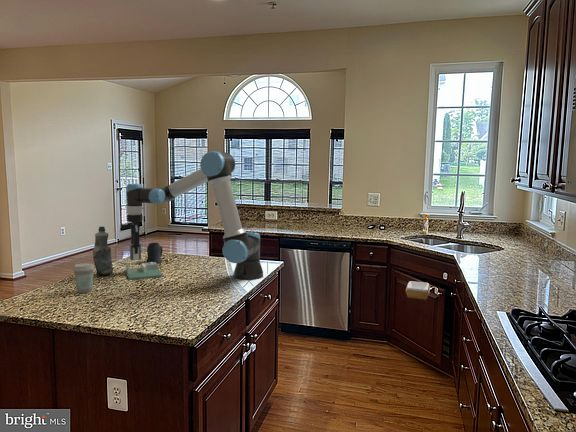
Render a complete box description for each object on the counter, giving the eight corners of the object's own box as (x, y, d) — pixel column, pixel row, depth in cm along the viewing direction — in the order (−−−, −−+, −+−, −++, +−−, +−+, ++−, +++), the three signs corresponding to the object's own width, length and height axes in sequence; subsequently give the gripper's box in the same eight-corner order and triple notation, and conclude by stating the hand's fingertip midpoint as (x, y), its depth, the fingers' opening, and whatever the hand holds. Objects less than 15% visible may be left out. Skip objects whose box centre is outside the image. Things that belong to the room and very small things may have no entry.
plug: (141, 259, 219) (140, 244, 218) (130, 260, 216) (130, 245, 215) (139, 258, 222) (139, 243, 221) (129, 258, 220) (129, 243, 219)
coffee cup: (72, 294, 181) (70, 267, 180) (76, 289, 189) (75, 263, 188) (93, 293, 183) (92, 266, 182) (97, 288, 192) (96, 262, 190)
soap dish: (407, 291, 195) (408, 280, 195) (429, 293, 192) (430, 282, 191) (405, 298, 184) (405, 287, 183) (428, 301, 180) (429, 289, 180)
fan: (157, 268, 226) (157, 263, 225) (145, 269, 223) (145, 264, 223) (155, 266, 231) (155, 261, 231) (144, 267, 228) (143, 261, 228)
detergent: (106, 271, 222) (105, 224, 220) (118, 272, 220) (117, 225, 218) (88, 277, 210) (86, 227, 207) (101, 278, 208) (99, 228, 205)
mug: (156, 264, 240) (156, 245, 238) (142, 263, 242) (142, 244, 241) (168, 260, 251) (167, 241, 250) (154, 259, 254) (154, 241, 252)
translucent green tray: (162, 276, 214) (162, 266, 213) (129, 280, 206) (129, 269, 206) (155, 268, 231) (155, 258, 231) (124, 271, 224) (124, 261, 223)
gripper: (145, 215, 211) (145, 261, 213) (139, 212, 226) (140, 255, 228) (129, 216, 207) (129, 262, 210) (124, 212, 222) (125, 256, 225)
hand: (135, 258), depth 219 cm, fingers closed on plug, 4 cm apart
